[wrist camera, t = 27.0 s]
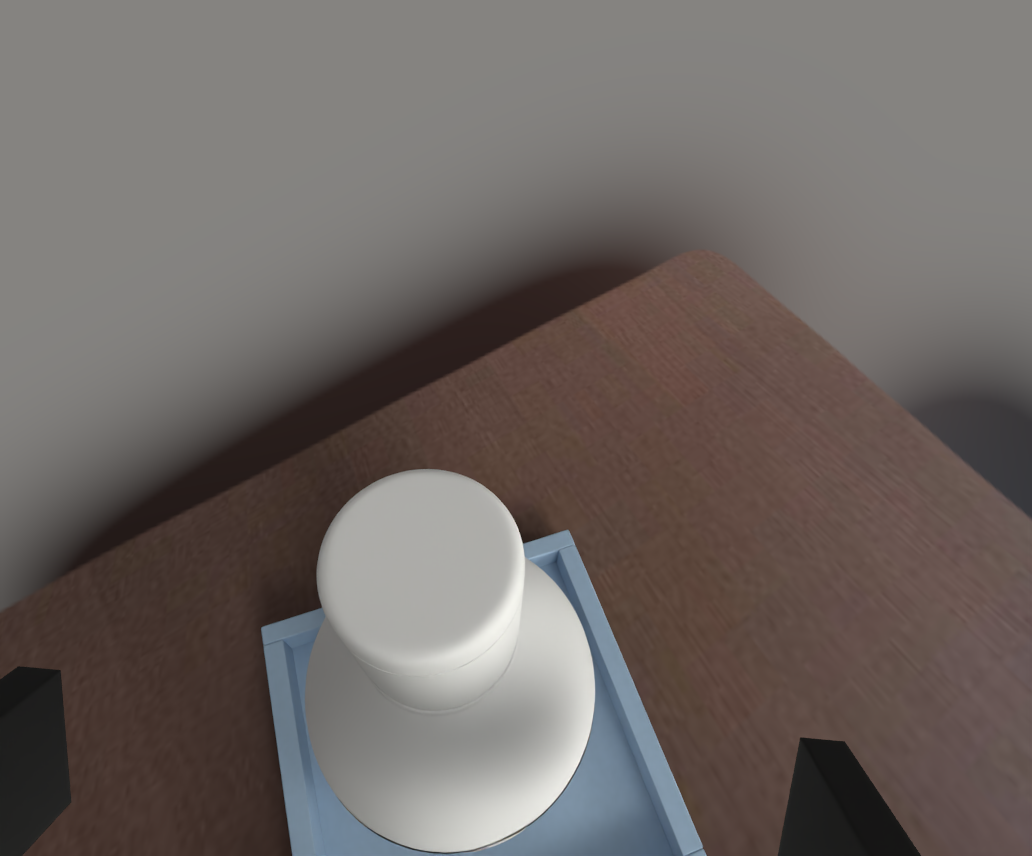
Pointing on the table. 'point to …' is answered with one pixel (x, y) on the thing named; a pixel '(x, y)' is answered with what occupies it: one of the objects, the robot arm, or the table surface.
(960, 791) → the table surface
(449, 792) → the bath foam
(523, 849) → the tray
